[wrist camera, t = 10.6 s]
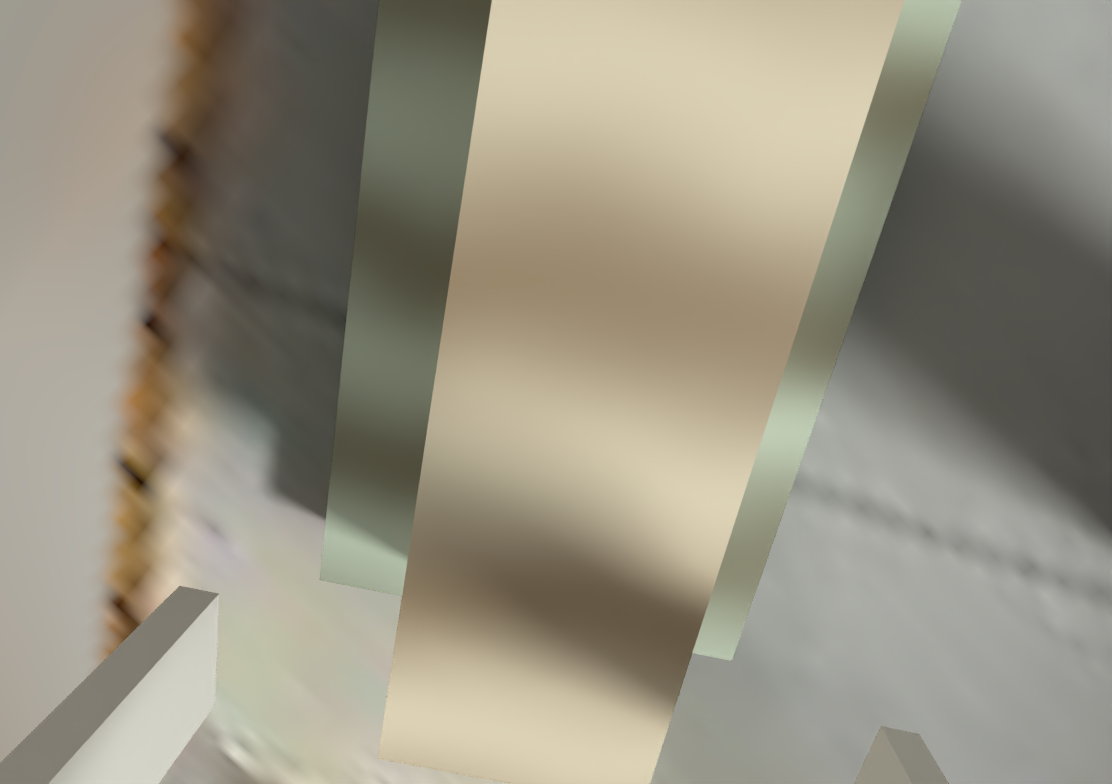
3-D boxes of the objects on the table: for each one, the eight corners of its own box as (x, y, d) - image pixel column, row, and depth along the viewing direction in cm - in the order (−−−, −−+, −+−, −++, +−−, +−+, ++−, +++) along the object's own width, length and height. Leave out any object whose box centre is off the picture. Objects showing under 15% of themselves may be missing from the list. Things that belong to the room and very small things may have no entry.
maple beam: (586, -258, 14) (591, -660, 7) (847, -198, 14) (1079, -541, 8) (443, 576, 21) (377, 758, 14) (622, 612, 21) (641, 808, 14)
